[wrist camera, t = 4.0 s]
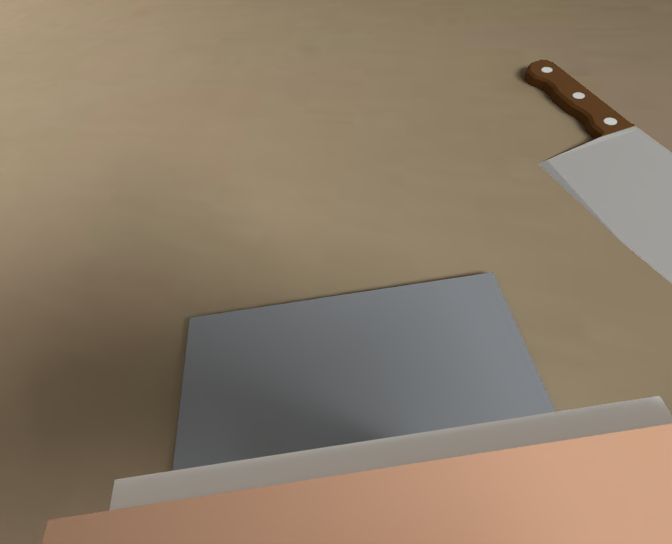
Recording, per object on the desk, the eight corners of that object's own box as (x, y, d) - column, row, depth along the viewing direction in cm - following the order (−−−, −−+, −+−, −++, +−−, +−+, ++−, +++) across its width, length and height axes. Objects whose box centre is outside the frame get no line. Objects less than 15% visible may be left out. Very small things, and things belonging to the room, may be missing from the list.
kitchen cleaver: (455, 84, 27) (570, 49, 27) (453, 96, 28) (564, 62, 28) (725, 380, 14) (928, 306, 15) (706, 385, 15) (897, 316, 16)
